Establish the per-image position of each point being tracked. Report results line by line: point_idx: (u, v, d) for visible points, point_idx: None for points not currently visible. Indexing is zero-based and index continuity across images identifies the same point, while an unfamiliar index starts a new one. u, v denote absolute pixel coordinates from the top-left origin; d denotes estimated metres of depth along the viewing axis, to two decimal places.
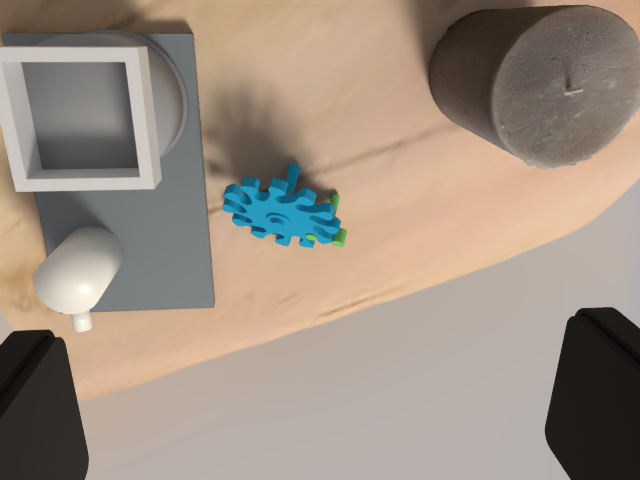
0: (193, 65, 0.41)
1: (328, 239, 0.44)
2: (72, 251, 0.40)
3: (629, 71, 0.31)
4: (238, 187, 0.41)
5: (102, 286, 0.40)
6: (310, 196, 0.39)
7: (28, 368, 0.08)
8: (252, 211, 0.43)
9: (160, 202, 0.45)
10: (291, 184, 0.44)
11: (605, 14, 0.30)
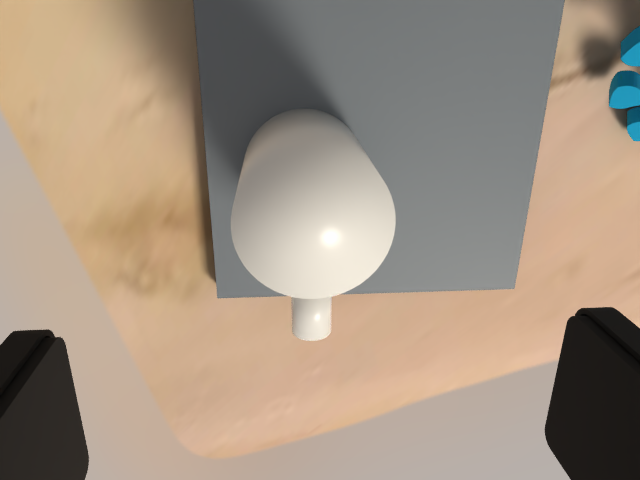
0: None
1: None
2: (328, 140, 0.16)
3: None
4: None
5: None
6: None
7: (28, 368, 0.08)
8: None
9: (461, 56, 0.20)
10: None
11: None
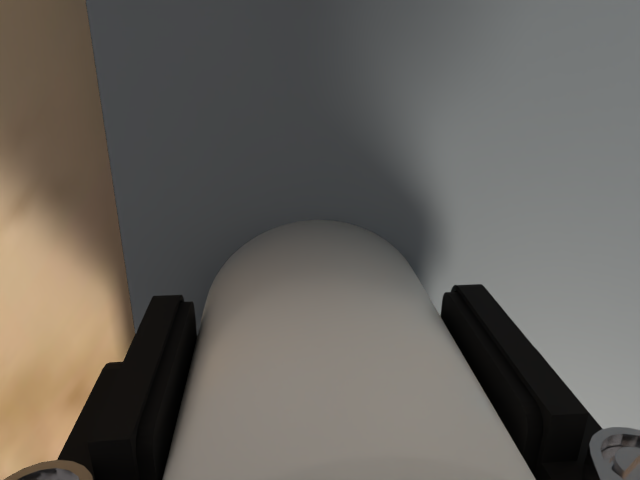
0: None
1: None
2: (401, 399, 0.06)
3: None
4: None
5: None
6: None
7: (178, 325, 0.09)
8: None
9: (618, 121, 0.11)
10: None
11: None
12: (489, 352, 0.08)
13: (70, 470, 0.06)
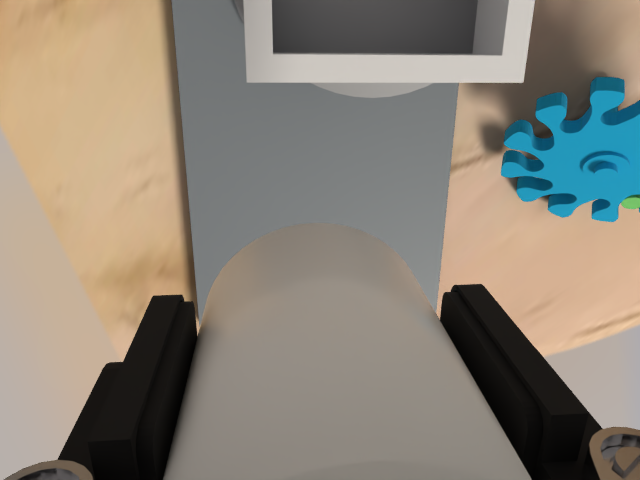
0: None
1: None
2: (400, 404, 0.06)
3: None
4: (566, 99, 0.24)
5: None
6: None
7: (178, 325, 0.09)
8: (563, 148, 0.25)
9: (381, 151, 0.27)
10: (615, 112, 0.27)
11: None
12: (489, 352, 0.08)
13: (70, 470, 0.06)
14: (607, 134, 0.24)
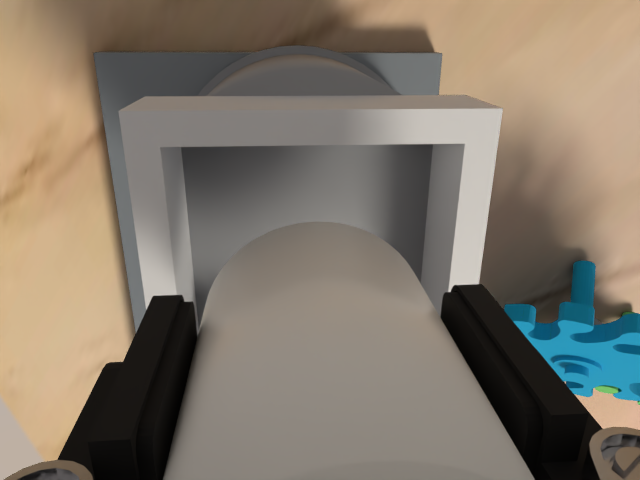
0: None
1: (638, 398, 0.26)
2: (401, 402, 0.06)
3: None
4: (535, 311, 0.22)
5: None
6: None
7: (178, 325, 0.09)
8: None
9: None
10: (590, 299, 0.25)
11: None
12: (489, 352, 0.08)
13: (70, 470, 0.06)
14: (577, 346, 0.23)
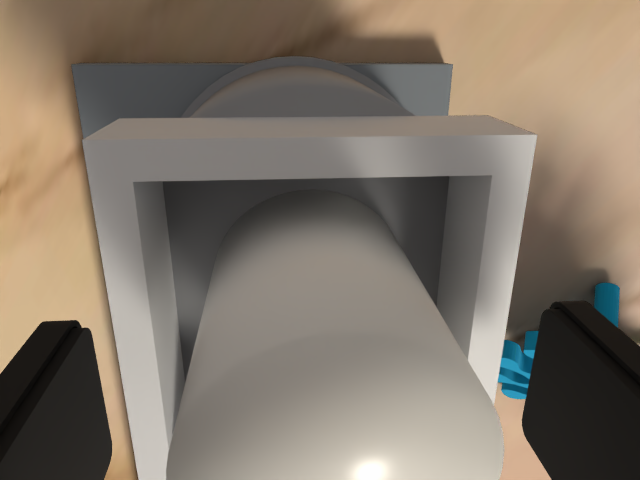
0: None
1: None
2: (369, 303, 0.08)
3: None
4: None
5: None
6: None
7: (59, 356, 0.08)
8: None
9: None
10: (615, 325, 0.24)
11: None
12: (621, 379, 0.08)
13: None
14: None
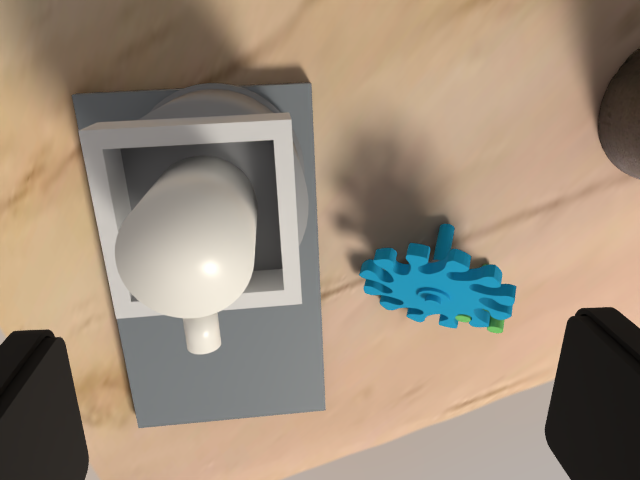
0: (311, 122, 0.32)
1: (485, 324, 0.35)
2: (193, 186, 0.19)
3: None
4: (395, 252, 0.32)
5: (254, 257, 0.20)
6: (498, 276, 0.30)
7: (28, 368, 0.08)
8: (401, 282, 0.33)
9: None
10: (447, 250, 0.35)
11: None
12: None
13: None
14: (426, 278, 0.32)
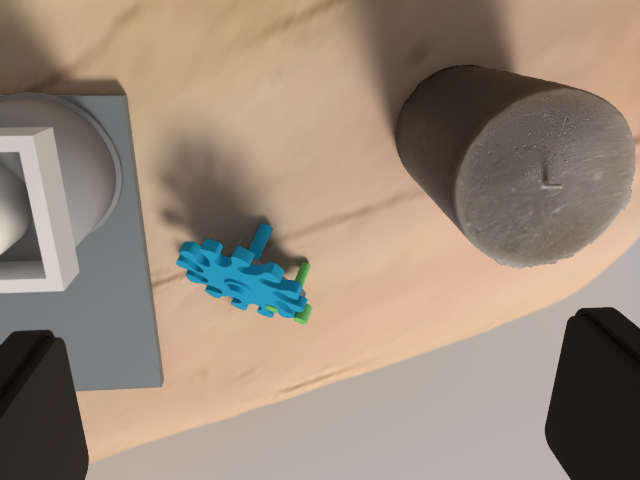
0: (126, 130, 0.36)
1: (290, 315, 0.40)
2: None
3: (617, 161, 0.26)
4: (197, 246, 0.36)
5: None
6: (277, 273, 0.34)
7: (28, 368, 0.08)
8: (209, 273, 0.38)
9: (96, 277, 0.40)
10: (259, 247, 0.39)
11: (588, 98, 0.25)
12: None
13: None
14: (225, 271, 0.36)
